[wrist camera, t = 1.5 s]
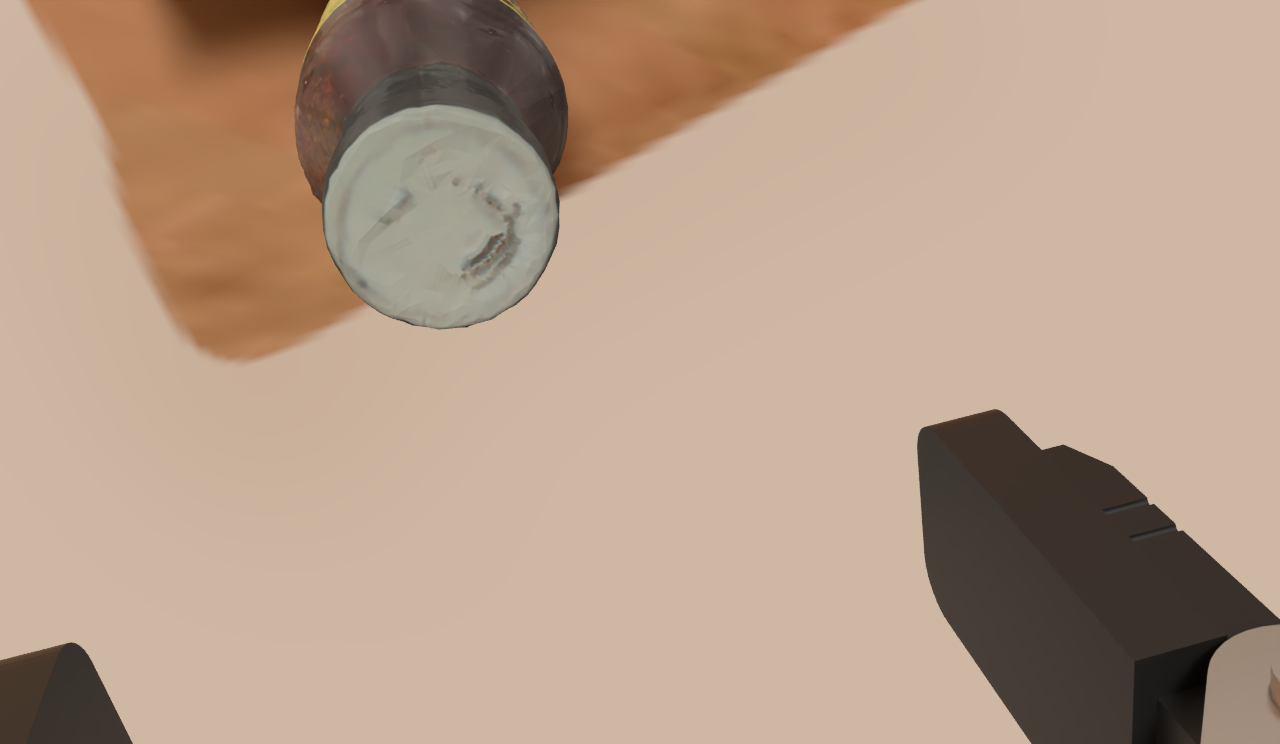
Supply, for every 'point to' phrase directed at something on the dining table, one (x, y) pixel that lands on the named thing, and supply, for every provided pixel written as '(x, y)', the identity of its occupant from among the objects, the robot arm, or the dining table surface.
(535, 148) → the sauce bottle
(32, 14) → the dining table surface
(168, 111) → the dining table surface
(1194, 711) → the robot arm
